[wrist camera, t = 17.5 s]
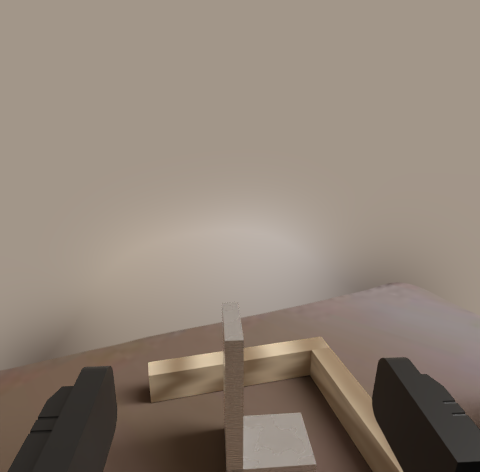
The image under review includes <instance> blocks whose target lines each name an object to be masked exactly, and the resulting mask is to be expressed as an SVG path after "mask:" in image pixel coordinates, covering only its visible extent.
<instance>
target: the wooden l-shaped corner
mask: <svg viewBox="0 0 480 472" xmlns="http://www.w3.org/2000/svg"><path fill="white" fill-rule="evenodd" d="M148 368H149V385H150V396H151V403H153V402H158V401H164V400H170V399H176V398H181V397H187V396H193V395H198V394H204V393H210V392H216V391H221V390H224V382H223V351H221V352H215V353H208V354H201V355H195V356H188V357H181V358H175V359H168V360H161V361H155V362H148ZM307 375H310V376H311V378H312V379H313V381H314V382H315V384H316V385H317V387H318V388H319V390H320V391H321V393H322V394H323V396H324V398H325V399H326V401H327V402H328V404H329V405H330V407H331V408H332V410H333V411H334V413H335V414H336V416H337V418H338V419H339V421H340V422H341V424H342V425H343V427H344V428H345V430H346V431H347V433H348V435H349V436H350V438H351V439H352V441H353V442H354V444H355V445H356V447H357V448H358V450H359V451H360V453H361V455H362V456H363V458H364V459H365V461H366V462H367V464H368V465H369V467H370V468H371V470H372V471H373V472H403V470H402V468H401V466H400V465H399V463H398V461H397V459H396V457H395V455H394V453H393V451H392V449H391V448H390V446H389V444H388V442H387V440H386V438H385V436H384V434H383V432H382V431H381V429H380V427H379V425H378V423H377V421H376V419H375V416H374V413H373V408H372V399H371V397H370V396H369V395H368V394H367V393H366V391H365V390H364V389H363V388H362V386H361V385H360V384H359V383H358V381H357V380H356V379H355V378H354V377H353V375H352V374H351V373H350V372H349V370H348V369H347V368H346V367H345V365H344V364H343V363H342V362H341V361H340V359H339V358H338V357H337V356H336V354H335V353H334V352H333V351H332V349H331V348H330V347H329V346H328V345H327V343H326V342H325V341H324V340H323V338H322V337H315V338H308V339H301V340H295V341H288V342H281V343H275V344H268V345H261V346H255V347H248V348H244V386H250V385H256V384H261V383H267V382H273V381H279V380H284V379H290V378H296V377H301V376H307Z"/></svg>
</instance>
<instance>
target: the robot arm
mask: <svg viewBox="0 0 480 472" xmlns="http://www.w3.org/2000/svg"><path fill="white" fill-rule="evenodd" d="M372 408H373V413H374V416H375V419H376V421H377V423H378V425H379V427H380V429H381V431H382V432H383V434H384V436H385V438H386V440H387V442H388V444H389V446H390V448H391V449H392V451H393V453H394V455H395V457H396V459H397V461H398V463H399V465H400V466H401V468H402V470H403V472H480V430H479V428H478V427H477V426H476V425H475V424H474V422H473V421H472V420H471V419H470V418H469V416H468V415H465V412H464V410H463V409H462V408H461V407H460V406H459V404H458V403H455V400H454V398H453V397H452V396H451V395H450V394H449V392H448V391H447V390H446V389H445V388H444V386H442V385H441V384H440V383H438V382H437V381H435V380H434V379H432V378H431V377H430V376H428V375H427V374H420V372H419V371H418V370H417V369H416V367H415V366H414V365H413V364H412V362H411V361H410V360H409V359H408V358H406V357H400V358H381V359H380V360H379V362H378V367H377V372H376V378H375V384H374V390H373V396H372ZM116 421H117V404H116V394H115V385H114V376H113V370H112V367H111V366H98V367H84V368H83V369H82V370H81V372H80V374H79V376H78V378H77V380H76V383H75V385H74V386H65V387H61V388H60V389H59V390H58V391H57V392H56V393H55V394H54V395H53V396H52V397H51V398H49V399H48V400H47V402H46V404H45V405H44V407H43V409H42V411H41V413H40V414H39V416H38V420H36V422H35V423H34V425H33V427H32V429H31V431H30V434H28V436H27V438H26V440H25V441H24V443H23V445H22V447H21V449H20V450H19V452H18V454H17V456H16V458H15V459H14V461H13V463H12V465H11V467H10V468H9V470H8V472H103V470H104V466H105V463H106V460H107V456H108V453H109V449H110V446H111V442H112V439H113V436H114V432H115V428H116Z"/></svg>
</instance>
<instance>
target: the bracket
mask: <svg viewBox="0 0 480 472" xmlns="http://www.w3.org/2000/svg"><path fill="white" fill-rule="evenodd" d="M222 315H223V317H222V318H223V382H224V434H225V456H226V472H316V461H315V458H314V454H313V451H312V448H311V445H310V441H309V438H308V435H307V432H306V428H305V425H304V422H303V419H302V415H301V413H286V414H269V415H252V416H243V388H244V339H243V332H242V325H241V319H240V312H239V306H238V303H222Z"/></svg>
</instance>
